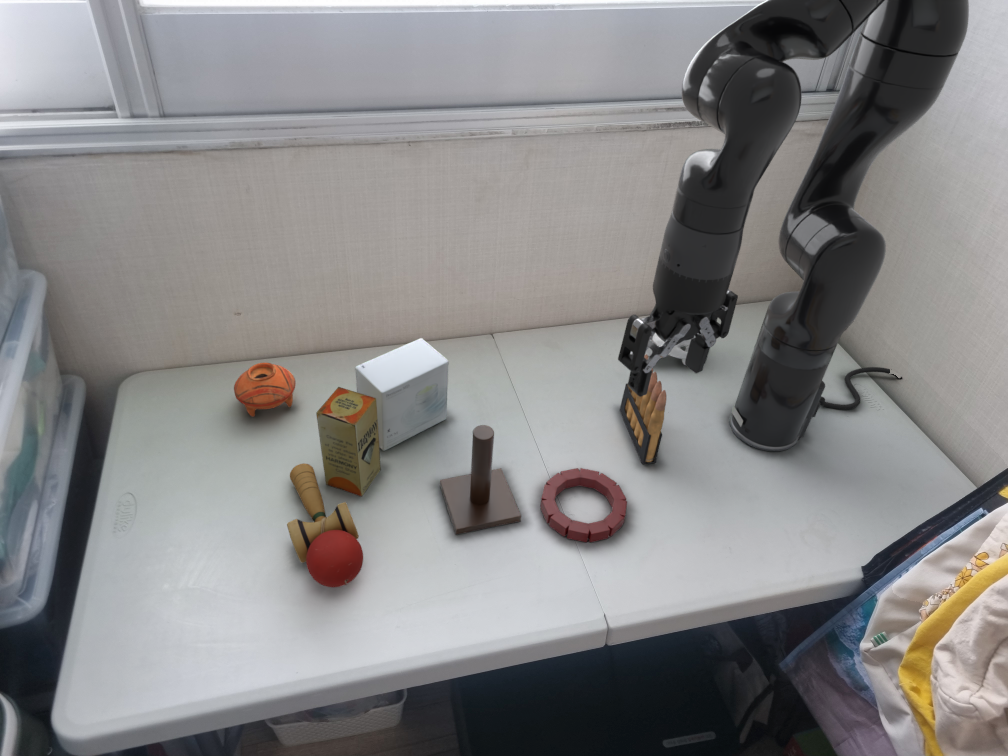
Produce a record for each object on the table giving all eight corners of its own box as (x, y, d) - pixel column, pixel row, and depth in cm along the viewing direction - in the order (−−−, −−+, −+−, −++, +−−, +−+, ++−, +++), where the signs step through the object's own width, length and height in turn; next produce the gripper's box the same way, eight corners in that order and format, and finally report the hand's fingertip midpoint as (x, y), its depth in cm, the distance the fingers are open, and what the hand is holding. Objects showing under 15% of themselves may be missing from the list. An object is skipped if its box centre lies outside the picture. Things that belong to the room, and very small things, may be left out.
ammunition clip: (655, 463, 100) (674, 394, 93) (642, 464, 100) (659, 395, 92) (631, 408, 108) (647, 341, 101) (619, 409, 108) (633, 342, 100)
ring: (604, 470, 99) (606, 462, 98) (638, 531, 91) (640, 523, 90) (529, 485, 96) (531, 476, 95) (558, 549, 89) (559, 541, 88)
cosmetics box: (385, 453, 99) (381, 392, 92) (357, 426, 102) (352, 365, 96) (449, 419, 104) (450, 359, 98) (421, 394, 108) (420, 335, 101)
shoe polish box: (325, 484, 94) (316, 412, 86) (345, 457, 98) (338, 386, 90) (361, 496, 93) (355, 425, 85) (380, 469, 97) (376, 398, 89)
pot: (274, 432, 100) (256, 391, 96) (234, 420, 104) (215, 380, 100) (315, 397, 105) (299, 356, 101) (274, 387, 109) (258, 347, 105)
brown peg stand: (501, 473, 97) (506, 403, 90) (520, 521, 92) (528, 450, 84) (439, 485, 95) (440, 414, 88) (456, 535, 89) (458, 463, 82)
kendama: (266, 501, 93) (303, 606, 80) (267, 458, 90) (305, 560, 77) (329, 491, 97) (374, 590, 83) (332, 450, 94) (379, 545, 80)
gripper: (670, 293, 71) (640, 420, 82) (774, 257, 78) (733, 379, 88) (619, 256, 76) (596, 380, 87) (721, 224, 83) (688, 344, 93)
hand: (665, 379), depth 87 cm, fingers open, 8 cm apart
